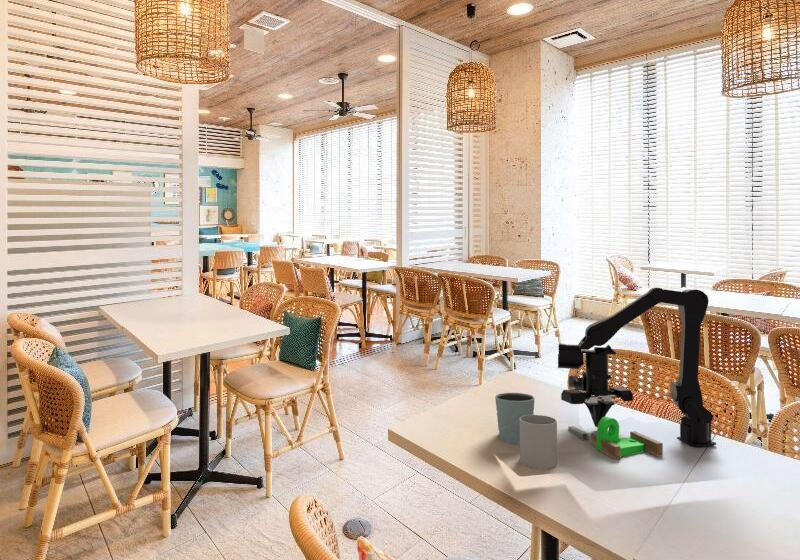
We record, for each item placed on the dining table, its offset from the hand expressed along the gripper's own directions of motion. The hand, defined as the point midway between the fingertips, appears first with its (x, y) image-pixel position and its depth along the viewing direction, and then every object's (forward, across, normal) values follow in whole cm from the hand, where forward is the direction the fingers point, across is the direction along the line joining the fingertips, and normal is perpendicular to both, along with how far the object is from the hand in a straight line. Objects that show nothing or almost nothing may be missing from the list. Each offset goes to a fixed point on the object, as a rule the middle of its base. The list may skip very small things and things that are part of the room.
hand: (597, 426), depth 136 cm
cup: (+3, +25, +15) cm, 29 cm away
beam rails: (+3, 0, +12) cm, 12 cm away
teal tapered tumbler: (+3, +24, 0) cm, 24 cm away
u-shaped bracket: (+3, +12, +2) cm, 12 cm away
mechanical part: (+3, 0, +12) cm, 12 cm away
